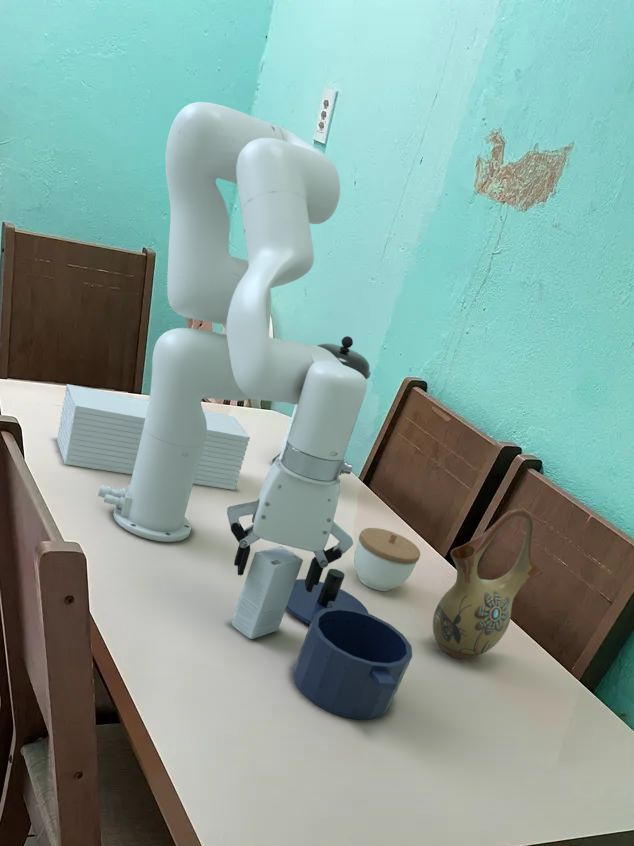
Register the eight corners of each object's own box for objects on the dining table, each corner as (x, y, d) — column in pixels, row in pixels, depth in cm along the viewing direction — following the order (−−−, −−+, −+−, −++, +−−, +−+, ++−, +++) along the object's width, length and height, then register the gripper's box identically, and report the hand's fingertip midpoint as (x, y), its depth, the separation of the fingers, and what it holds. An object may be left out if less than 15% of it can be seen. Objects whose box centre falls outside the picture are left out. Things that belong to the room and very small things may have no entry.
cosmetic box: (257, 616, 126) (281, 543, 120) (279, 632, 124) (305, 559, 118) (228, 625, 122) (252, 549, 116) (251, 642, 120) (277, 566, 114)
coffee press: (349, 486, 188) (399, 350, 174) (314, 497, 175) (364, 351, 161) (285, 453, 194) (328, 318, 180) (246, 461, 181) (288, 317, 167)
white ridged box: (64, 464, 151) (75, 405, 146) (56, 440, 159) (66, 383, 154) (234, 490, 165) (250, 437, 160) (219, 467, 174) (233, 416, 168)
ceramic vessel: (423, 664, 130) (491, 514, 118) (399, 631, 137) (462, 486, 125) (511, 673, 136) (584, 532, 124) (485, 640, 143) (552, 504, 131)
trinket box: (401, 605, 145) (422, 557, 140) (341, 583, 145) (360, 533, 140) (406, 581, 154) (426, 534, 150) (349, 559, 154) (367, 512, 150)
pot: (318, 730, 107) (341, 675, 103) (275, 643, 121) (293, 591, 117) (412, 735, 112) (437, 682, 108) (360, 651, 127) (380, 602, 123)
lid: (294, 631, 126) (308, 592, 123) (266, 580, 137) (278, 543, 134) (381, 640, 132) (396, 603, 129) (347, 591, 143) (361, 555, 140)
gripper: (370, 470, 115) (331, 581, 123) (245, 435, 112) (212, 552, 120) (379, 490, 109) (336, 606, 117) (245, 454, 106) (211, 576, 113)
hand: (274, 579), depth 118 cm, fingers open, 9 cm apart
